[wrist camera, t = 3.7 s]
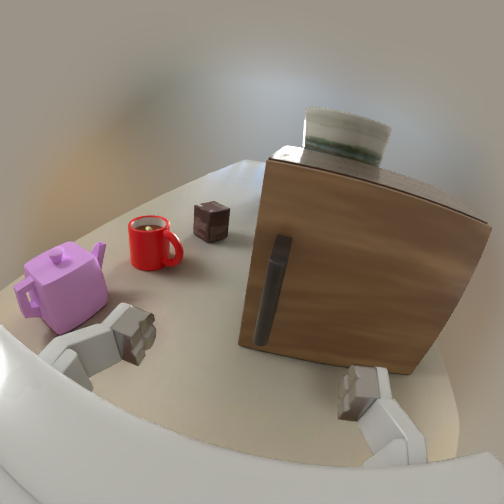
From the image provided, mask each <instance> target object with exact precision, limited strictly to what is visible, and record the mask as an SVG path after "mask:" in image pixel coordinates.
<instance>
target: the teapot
mask: <svg viewBox="0 0 504 504" xmlns="http://www.w3.org/2000/svg"><path fill="white" fill-rule="evenodd" d="M105 247H106V243H104V242H99V243H96V244H95V247H94V249H93V251H92V253H90V252H88V251H87V250H85V249H84V248H82V247H80V246H79V245H77V244H75V243H73V242H71V241H70V242H66V243H63V244H61V245H59V246H57V247H55V248H52V249H50V250H48V251H46V252H44V253H42V254H41V255H39V256H37V257H35V258H33V259H32V260H30V261H29V262H27V263H26V264H25V265H24V271H25V279H24V280H22V281H20V282H19V283H17V284H16V285H14V286H13V287H14V290H15V294H16V297H17V300H18V304H19V307H20V310H21V312H22V314H23V315H24V317H25V318H29V317H42V318H43V320H44V321H45V322H46V323H47V324H48V325H49V326H50V327H51V328H52V329H53V330H54V331H55V332H56V333H57V334H58V335H63V334H65V333H67V332H69V331H70V330H72V329H74V328H75V327H77V326H78V325H80V324H82V323H83V322H85V321H86V320H87V319H89V318H90V317H91V316H93V315H94V314H95V313H96V312H98V311H99V310H100V309H101V308H102V307H103V306H105V305H106V303H107V300H108V291H107V287H106V283H105V280H104V277H103V274H102V271H101V269H102V263H103V258H104V252H105ZM26 292H28V293H29V296H30V299H31V302H29V301H28V298H27V296H26Z"/></svg>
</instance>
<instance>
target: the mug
mask: <svg viewBox="0 0 504 504" xmlns="http://www.w3.org/2000/svg"><path fill="white" fill-rule="evenodd" d="M169 228H170V224H169V221H168V220H167V219H166V218H163V217H160V216H153V215H149V216H141V217H137V218H135V219H133V220H131V221H130V222H129V224H128V230H129V244H130V255H131V263H132V265H133V266H134V267H135V268H137V269H140V270H144V271H153V270H158V269H161V268H163V267H165V266H167V267H174V266H177V265H179V264H180V263H181V261H182V259H183V254H184V253H183V247H182V244H181V242H180V240H179V239H178V238H177V236H176V235H175V234H173V233H172V232H170V231H169ZM169 241H170V242H171V243H172V244H173V246H174V248H175V252H176V254H175V258H174V259H170V245H169Z"/></svg>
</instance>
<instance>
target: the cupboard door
mask: <svg viewBox="0 0 504 504" xmlns="http://www.w3.org/2000/svg"><path fill="white" fill-rule="evenodd" d="M491 230H492V227H490V226H489V225H488V224H485V223H483V222H481V221H478V220H476V219H474V218H471V217H469V216H466V215H464V214H461V213H459V212H456V211H454V210H451V209H449V208H446V207H443V206H441V205H438V204H435V203H432V202H429V201H427V200H424V199H421V198H418V197H415V196H412V195H409V194H406V193H403V192H400V191H396V190H393V189H390V188H387V187H383V186H380V185H376V184H373V183H369V182H366V181H362V180H358V179H355V178H351V177H347V176H343V175H339V174H335V173H331V172H326V171H322V170H318V169H313V168H309V167H304V166H299V165H294V164H289V163H284V162H279V161H274V160H267V161H266V167H265V173H264V180H263V186H262V193H261V199H260V205H259V212H258V218H257V225H256V231H255V238H254V244H253V251H252V257H251V264H250V270H249V277H248V283H247V290H246V296H245V302H244V309H243V315H242V322H241V328H240V335H239V341H238V345H242V346H246V347H250V348H254V349H258V350H262V351H266V352H271V353H275V354H279V355H284V356H289V357H294V358H298V359H303V360H309V361H314V362H319V363H325V364H331V365H337V366H343V367H350V365H351V364H360V365H367V366H374V367H383V368H387V370H388V372H389V373H399V374H411V373H412V372H413V370H414V369H415V368H416V366H417V365H418V364H419V362H420V361H421V360H422V358H423V357H424V356H425V354H426V353H427V351H428V350H429V348H430V347H431V346H432V344H433V343H434V341H435V340H436V338H437V337H438V335H439V334H440V332H441V330H442V329H443V327H444V326H445V324H446V322H447V321H448V319H449V318H450V316H451V314H452V313H453V311H454V309H455V307H456V306H457V304H458V302H459V300H460V298H461V297H462V295H463V293H464V291H465V289H466V287H467V285H468V283H469V281H470V279H471V277H472V275H473V273H474V271H475V269H476V267H477V264H478V262H479V260H480V258H481V255H482V253H483V250H484V248H485V246H486V243H487V241H488V238H489V236H490V233H491Z"/></svg>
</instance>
